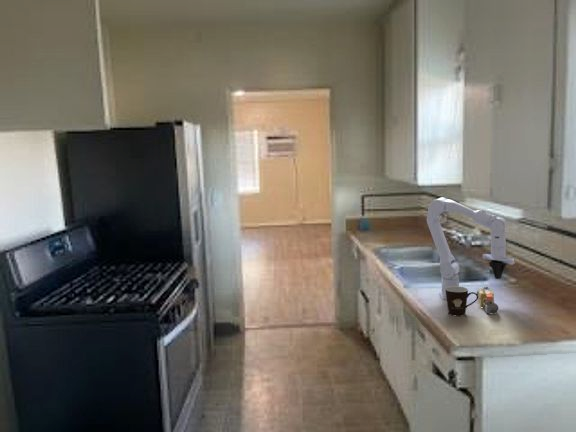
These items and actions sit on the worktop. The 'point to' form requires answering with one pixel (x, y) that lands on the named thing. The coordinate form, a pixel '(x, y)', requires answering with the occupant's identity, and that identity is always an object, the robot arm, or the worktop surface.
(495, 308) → the pipe valve
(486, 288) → the valve lever
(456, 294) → the coffee mug
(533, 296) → the worktop surface
